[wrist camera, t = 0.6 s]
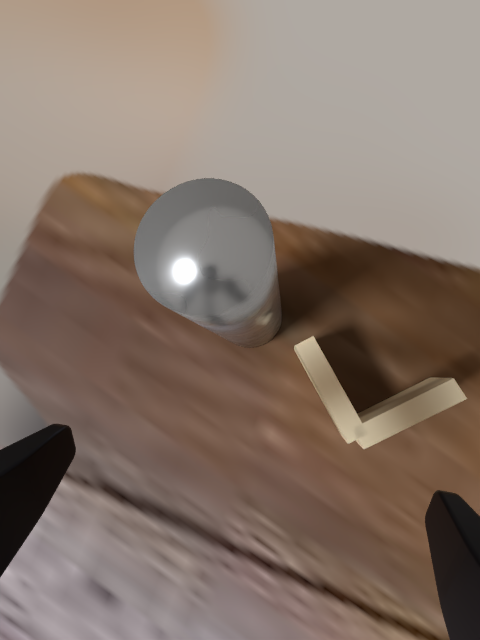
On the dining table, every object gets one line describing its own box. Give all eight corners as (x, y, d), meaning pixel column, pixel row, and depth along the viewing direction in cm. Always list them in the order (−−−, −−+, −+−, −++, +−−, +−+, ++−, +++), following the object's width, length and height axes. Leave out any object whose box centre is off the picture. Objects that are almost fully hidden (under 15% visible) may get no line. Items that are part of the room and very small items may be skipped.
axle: (243, 360, 22) (183, 344, 10) (206, 310, 23) (108, 235, 11) (295, 321, 22) (303, 254, 10) (256, 272, 23) (218, 152, 11)
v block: (424, 463, 20) (447, 479, 17) (275, 411, 22) (273, 417, 19) (444, 381, 20) (470, 383, 17) (297, 337, 22) (299, 331, 19)
